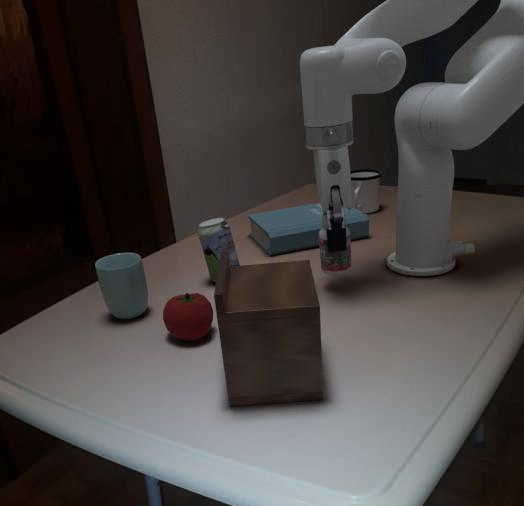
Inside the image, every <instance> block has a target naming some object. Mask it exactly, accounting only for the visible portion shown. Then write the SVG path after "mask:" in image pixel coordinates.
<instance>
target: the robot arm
mask: <svg viewBox="0 0 524 506" xmlns="http://www.w3.org/2000/svg"><path fill="white" fill-rule="evenodd" d="M478 1H479V0H385V1H384V2H382V3H381V4H379V5H377V6H376V7H375V8H374V9H372V10H371V11H369V12H368V13H366V14H365V15H364V16H363V17H362V18H360V19H359V20H358V21H357V22H356V23H355V24H354V25H353V26H352V27H351V28H350V29H348V31H347V32H345V33H344V34H343V35H342V36H341V37H340V38H339V39H338V40H337V41H336V43H334V45H326V46H318V47H311V48H309V49H305V50H304V51H303V52H302V53H301V55H300V58H299V74H300V75H299V76H300V87H301V98H302V99H301V100H302V113H303V114H302V115H303V126H304V127H303V128H304V139H305V140H304V141H305V148H306V149H307V150H309V151H310V150H311V151H313V162H314V175H315V184H316V190H317V191H316V192H317V197H318V202H319V203H320V204H321V207H322V210H323V216H324V215H326V214H327V224H328V229H326V234H327V250H328V252H339V251H345V250H346V249H347V241H346V227H345V219H344V207H343V203H344V205H345V207H346V209H347V208H348V210H351V209H352V207H353V202H352V189H351V174H350V171H351V165H350V164H351V163H350V154H349V146H352V145H353V144H354V124H353V123H354V122H353V118H354V117H353V96H355V95H378V94H383V93H385V92H389V91H390V90H392V89H393V88H395V87H396V86H397V85H399V83H400V82H401V81H402V79H403V76H404V75H405V72H406V69H407V57H406V54H405V52H404V49H403V47H405V46H407V45H409V44H412V43H414V42H416V41H420V40H423V39H426V38H429V37H432V36H434V35H436V34H438V33H441V32H442V31H444V30H446V29H449V28H451V26H453V25H455V24H456V22H458V21H459V20H460V19H461V17H463V16H464V15H465V14H466V13H467V12H468V11H469V10H470V9H471V8H472V7H473V6H474V5H476V3H477V2H478ZM523 105H524V0H500V3H499V5H498V8H497V10H496V12H495V13H494V14H493V15H492V16H491V18H489V20H488V21H486V23H484V25H482V26H481V27H480V28H479V29H478V30H477V31H476V32H475V33H474V34H473V35H471V37H470V38H469V39H468V40H467V41H466V42H465V43H464V44H463V45H462V46H461V47H460V48H458V49H457V50H456V52H455V53H454V54H453V55H452V57H451V58H450V60H449V61H448V63H447V65H446V68H445V71H444V82H439V81H430V82H429V81H428V82H427V81H425V82H422V83H421V82H420V83H417V84H415V85H413V86H411V87H409V88H408V89H407V90H406V91H404V92H403V94H402V95H401V96H400V98H399V100H398V101H397V103H396V106H395V110H394V130H395V137H396V145H397V155H398V156H397V157H398V158H397V159H398V175H397V178H398V179H397V196H396V198H397V200H396V201H397V202H396V224H395V225H396V226H395V251H394V252H392V253H390V254H389V255H388V256H387V257H386V265H387V267H388V269H390V270H391V271H393V272H395V273H397V274H401V275H406V276H412V277H430V276H438V275H442V274H445V273H447V272H450V271H452V270H453V269H454V268H455V267H456V257H457V256H458V255H470V254H474V253H475V248H476V247H475V243H474V242H471V243H464V241H463V240H458V241H452V240H450V228H451V214H452V203H453V202H452V201H453V191H454V180H455V159H454V155H453V151H452V150H456V151H466V150H467V151H468V150H471V149H473V148H476V147H478V146H480V145H481V144H482V143H484V142H486V140H487V139H488V138H490V137H491V136H492V135H493V134H494V133H495V132H496V131H498V129H500V127H501V126H502V125H503V124H504V123H506V121H507V120H509V118H511V116H513V115H514V113H516V112H517V111H518V110H519V109H520V108H521V107H522V106H523ZM330 214H333V217H332V218H331V216H330ZM323 228H324V227H323Z"/></svg>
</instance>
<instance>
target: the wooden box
mask: <svg viewBox="0 0 524 506" xmlns="http://www.w3.org/2000/svg"><path fill="white" fill-rule="evenodd" d="M213 299H214V306H215V313H216V320H217V327H218V335H219V341H220V350H221V356H222V362H223V370H224V377H225V379H224V380H225V386H226V393H227V400H228V406H229V407H240V406H252V405H253V406H254V405H267V404H281V403H294V402H307V401H321V400H324V381H323V356H322V355H323V353H322V327H321V325H322V324H321V323H322V322H321V305H320V304H321V303H320V301H319V300H320V299H319V296H318V291H317V286H316V282H315V278H314V274H313V269H312V265H311V261H310V259H304V260H303V259H302V260H301V259H300V260H291V261H280V262H279V261H278V262H267V263H266V262H265V263H254V264H242V265H240V266H230V258H229V250H222V251H221V256H220V262H219V268H218V274H217V280H216V282H215V285H214V292H213Z"/></svg>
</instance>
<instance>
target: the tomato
mask: <svg viewBox="0 0 524 506" xmlns="http://www.w3.org/2000/svg"><path fill="white" fill-rule="evenodd" d="M162 321H163V322H164V327H165V328H166V330H167V331H168V332H169V334H171V335H172V336H174V337H176V338H177V339H180V340H184V341H198V340H200V339H201V340H202V339H203V338H204V337H205V336H206V335H207V334H209V331H210V329H211V327H212V324H213V321H214V309H213V305H212V303H211V302H210V301H209V299H208V298H207V297H206V296H205V295H204V294H201V293H199V292H193V293H189V292H185V294H178V295H174V296H172V297H171V298H170V299H168V300H167V301H166V303H165V305H164V307H163V310H162Z"/></svg>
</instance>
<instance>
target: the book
mask: <svg viewBox="0 0 524 506" xmlns="http://www.w3.org/2000/svg"><path fill="white" fill-rule="evenodd" d="M343 207H344V215H345V221H346V222H345V223H346V224H345V226H346V227H348V228H349V230H350V241H355V240H361V239H365V238H368V236H369V235H370V219H369V216H368V214H364V213H363V212H361V211H359V210H357V209H355V208H353V207H352V209H351V210H348V208H347V209H346V207H345V205H344V203H343ZM322 217H323V210H322V207H321V204H320V202H316V203H311V204H304V205H299V206H293V207H287V208H286V207H285V208H281V209H276V210H269V211H263V212H257V213H251V214H248V215H247V218H248V219H249V221H250V222H249V223H250V233H249V237H250V238H251V239H252V240H254V242H255V243H256V244H258V245H259V247H260V248H262V250H264V251H265V253H267V254H268V255H269V256H275V255H280V254H285V253H290V252H295V251H301V250H307V249H311V248H317V247H320V245H319V231H320V230H321V229H322V228H323V226H322Z"/></svg>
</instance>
